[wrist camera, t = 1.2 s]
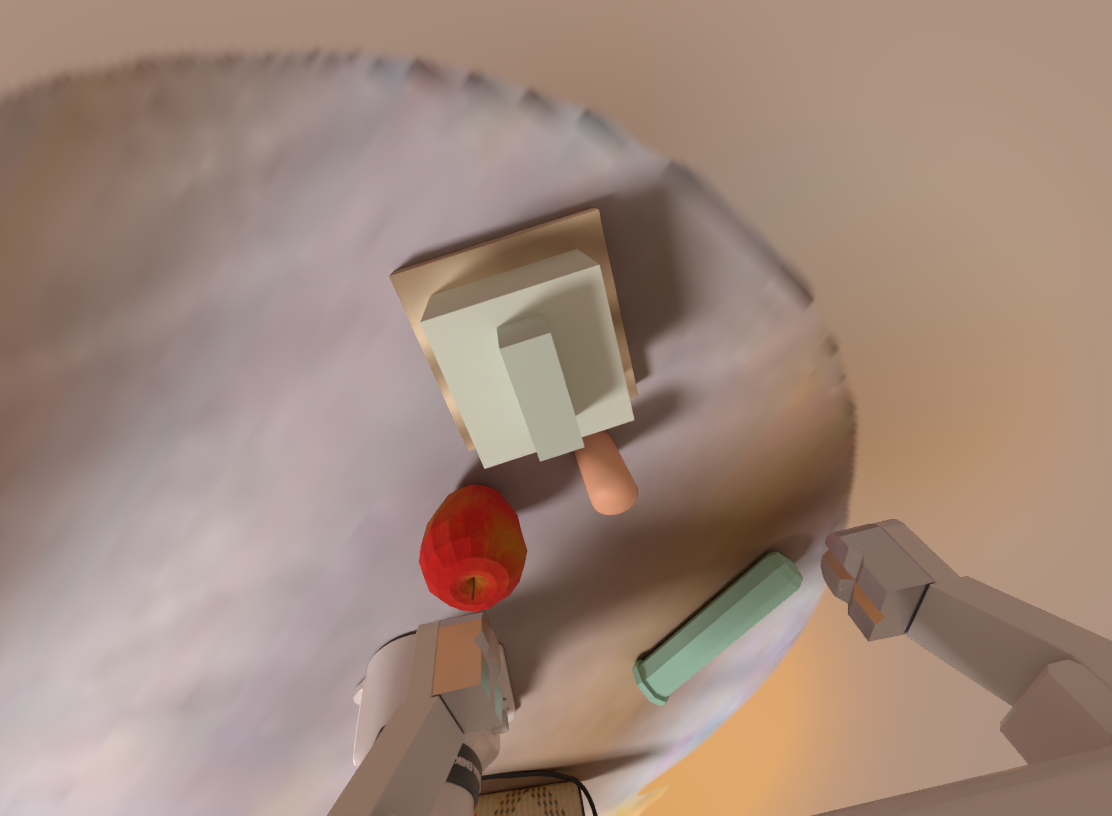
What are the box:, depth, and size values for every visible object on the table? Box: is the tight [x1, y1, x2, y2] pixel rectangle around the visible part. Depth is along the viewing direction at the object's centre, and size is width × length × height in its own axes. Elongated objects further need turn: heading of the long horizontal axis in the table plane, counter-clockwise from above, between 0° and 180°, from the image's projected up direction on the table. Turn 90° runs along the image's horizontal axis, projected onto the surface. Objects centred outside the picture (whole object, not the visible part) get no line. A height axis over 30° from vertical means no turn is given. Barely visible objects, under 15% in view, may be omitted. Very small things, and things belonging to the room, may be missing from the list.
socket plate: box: [389, 208, 638, 451], centre depth 37 cm, size 16×16×4 cm
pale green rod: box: [632, 551, 803, 706], centre depth 57 cm, size 6×6×25 cm
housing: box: [420, 249, 634, 469], centre depth 32 cm, size 12×12×11 cm
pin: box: [574, 430, 638, 515], centre depth 41 cm, size 4×4×8 cm
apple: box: [419, 485, 527, 611], centre depth 40 cm, size 9×9×12 cm
